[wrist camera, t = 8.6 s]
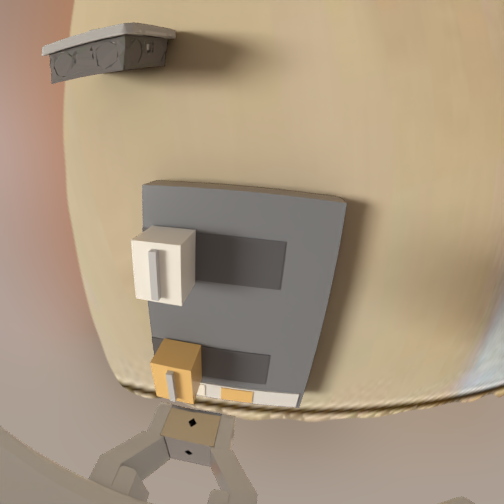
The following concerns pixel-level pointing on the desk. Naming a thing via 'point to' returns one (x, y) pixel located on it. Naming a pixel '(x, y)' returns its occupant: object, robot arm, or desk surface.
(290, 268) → the switch unit
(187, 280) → the ivory slider
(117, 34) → the grey hollow box
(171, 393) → the amber slider
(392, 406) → the desk surface
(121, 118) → the desk surface
